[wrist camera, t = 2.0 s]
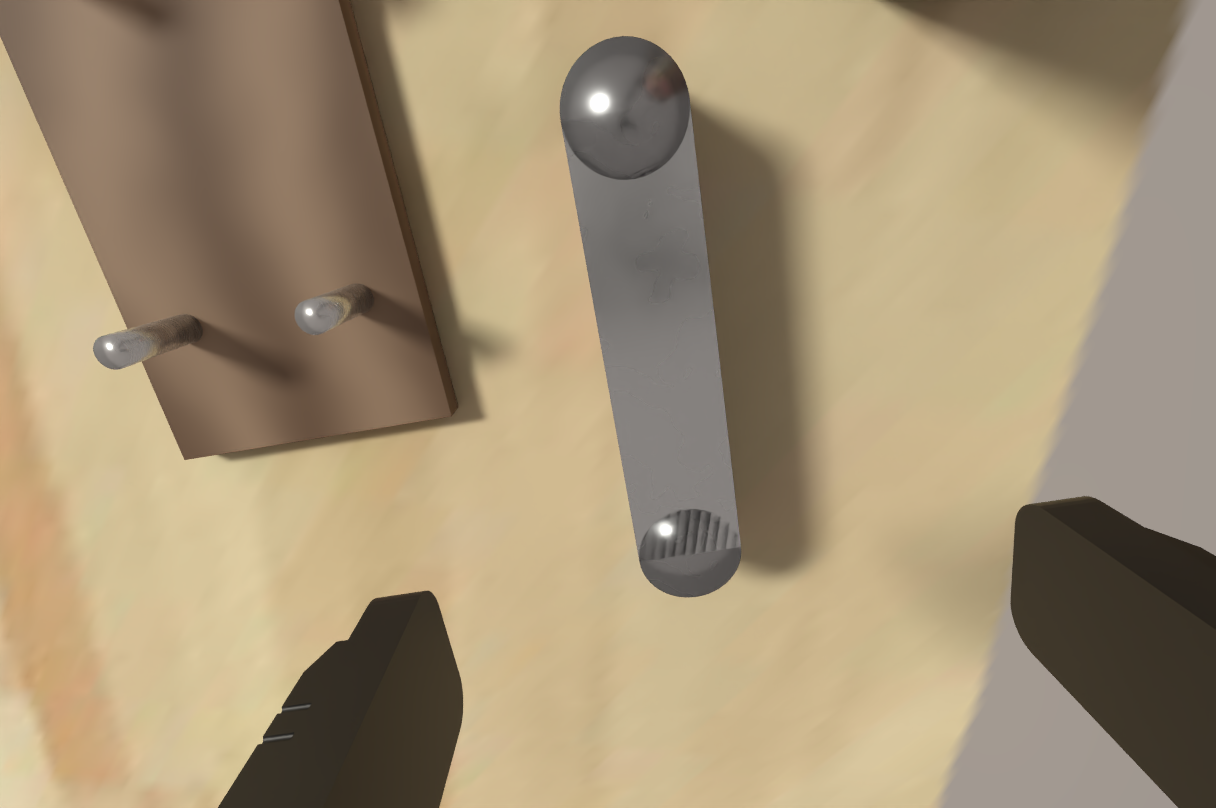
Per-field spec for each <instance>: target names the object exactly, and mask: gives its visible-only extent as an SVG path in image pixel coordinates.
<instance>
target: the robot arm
mask: <svg viewBox="0 0 1216 808" xmlns="http://www.w3.org/2000/svg"><path fill="white" fill-rule="evenodd" d="M1011 610H1012V616H1013V619H1014V623H1015V625H1016V628H1017V630H1018V633H1019V635H1020V636H1021V638H1022V640H1023V642H1024V643H1025V645H1026V646H1027V648H1028V649H1029V650H1030V651H1031V653H1032V654H1033V655H1034V656H1035V657H1036V658H1037V659H1038V660H1039V661H1040V662H1041V663H1042V664H1043V665H1044V666H1045V668H1046V669H1047V670H1048V671H1049V672H1050V673H1051V674H1052V675H1053V676H1054V677H1055V678H1056V679H1057V680H1058V681H1059V682H1060V683H1061V684H1062V685H1063V687H1064V688H1065V689H1066V690H1067V691H1068V692H1069V693H1070V694H1071V695H1072V696H1073V697H1074V698H1075V699H1076V700H1077V701H1078V702H1079V703H1080V704H1081V705H1082V707H1083V708H1084V709H1085V710H1086V711H1087V712H1088V713H1089V714H1090V715H1091V716H1092V717H1093V718H1094V719H1095V720H1096V721H1097V722H1098V723H1099V724H1100V726H1102V728H1103V729H1104V730H1105V731H1106V732H1107V733H1108V734H1109V735H1110V736H1111V737H1112V738H1113V739H1114V740H1115V741H1116V742H1117V743H1118V744H1119V745H1120V747H1121V748H1122V749H1123V750H1124V751H1125V752H1126V753H1127V754H1128V755H1129V756H1130V757H1131V758H1132V759H1133V760H1134V761H1135V762H1136V764H1137V765H1138V766H1139V767H1140V768H1141V769H1142V770H1143V771H1144V772H1145V773H1146V774H1147V775H1148V776H1149V777H1150V778H1151V779H1152V780H1153V781H1154V783H1155V784H1156V785H1157V786H1158V787H1159V788H1160V789H1161V790H1162V791H1163V792H1164V793H1165V794H1166V795H1167V796H1168V797H1169V798H1170V799H1171V800H1172V801H1173V803H1174V804H1175V805H1176V806H1177V807H1178V808H1216V556H1214V555H1213V554H1211V553H1209V552H1207V551H1206V550H1204V549H1202V548H1201V547H1198V546H1195V545H1192V544H1189V543H1187V542H1184V541H1181V540H1178V539H1176V538H1173V537H1170V536H1167V535H1165V534H1162V533H1159V532H1156V531H1153V530H1151V529H1148V528H1144V527H1143V526H1141V525H1139V524H1138V523H1136V522H1134V521H1133V520H1131V519H1129V518H1128V517H1126V516H1124V515H1123V514H1121V513H1120V512H1118V511H1116V510H1115V509H1113V508H1111V507H1110V506H1108V505H1106V504H1105V503H1103V502H1101V501H1100V500H1097V499H1096V498H1092V497H1087V496H1083V497H1076V498H1070V499H1062V500H1056V501H1050V502H1042V503H1035V504H1029V505H1025V506H1023V507H1022V508H1021V509H1020V510H1019V512H1018V513H1017V516H1016V521H1015V534H1014V551H1013V568H1012V586H1011ZM462 715H463V691H462V683H461V678H460V675H459V671H458V668H457V665H456V661H455V658H454V655H453V651H452V648H451V645H450V641H449V638H448V635H447V631H446V628H445V625H444V621H443V618H442V615H441V611H440V608H439V605H438V602H437V600H436V598H435V596H434V595H433V593H432V592H430V591H422V592H415V593H408V594H401V595H394V596H387V597H381V598H375V599H373V600H372V601H371V602H370V604H369V605H368V607H367V608H366V610H365V612H364V613H363V615H362V617H361V619H360V620H359V622H358V624H357V626H356V627H355V629H354V631H353V632H352V634H351V636H350V638H349V639H348V640H345V641H338V642H336V643H335V644H334V645H333V646H331V647H330V648H329V649H328V650H327V651H326V652H325V653H324V654H323V655H322V656H321V657H320V658H319V659H317V660H316V661H315V662H314V663H313V664H312V665H311V666H310V667H309V668H308V669H307V670H306V671H305V672H304V673H303V674H302V676H301V677H300V679H299V680H298V682H297V684H296V685H295V687H294V688H293V690H292V691H291V693H290V695H289V696H288V698H287V699H286V701H285V703H284V704H283V706H282V713H280V714H277V715H276V717H275V718H274V720H273V721H272V723H271V725H270V726H269V728H268V729H267V731H266V733H265V734H264V736H263V743H262V744H259V745H257V747H256V748H255V750H254V751H253V753H252V755H251V756H250V758H249V759H248V761H247V763H246V764H245V766H244V767H243V769H242V770H241V772H240V774H239V775H238V777H237V778H236V780H235V781H234V783H233V785H232V786H231V788H230V789H229V791H228V793H227V794H226V796H225V797H224V799H223V800H222V802H221V804H220V805H219V807H218V808H439V806H440V802H441V799H442V795H443V791H444V787H445V784H446V780H447V776H448V773H449V769H450V765H451V761H452V758H453V754H454V750H455V747H456V743H457V739H458V735H459V732H460V728H461V723H462Z"/></svg>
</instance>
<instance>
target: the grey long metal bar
mask: <svg viewBox="0 0 1216 808" xmlns="http://www.w3.org/2000/svg"><path fill="white" fill-rule="evenodd" d="M560 118H561V125H562V131H563V136H564V142H565V148H566V153H567V159H568V164H569V170H570V176H571V181H572V187H573V192H574V198H575V203H576V209H577V215H578V220H579V226H580V231H581V237H582V243H583V248H584V254H585V259H586V265H587V270H588V276H589V282H590V287H591V293H592V298H593V304H594V310H595V315H596V321H597V326H598V332H599V338H600V343H601V349H602V354H603V360H604V365H605V371H606V377H607V382H608V388H609V393H610V399H611V405H612V410H613V416H614V421H615V427H616V433H617V438H618V444H619V449H620V455H621V460H622V466H623V472H624V477H625V483H626V488H627V494H628V500H629V505H630V511H631V516H632V522H633V527H634V533H635V539H636V544H637V550H638V555H639V561H640V565H641V568H642V571H643V573H644V575H645V576H646V578H647V579H648V580H649V581H650V583H652V584H653V585H654V586H655V587H656V588H658V589H659V590H661V591H663V592H665V593H667V594H670V595H674V596H678V597H697V596H702V595H706V594H709V593H711V592H713V591H715V590H717V589H719V588H720V587H722V586H723V585H724V584H726V583H727V582H728V581H729V580H730V579H731V577H732V576H733V575H734V573H735V571H736V570H737V568H738V565H739V562H740V558H741V543H740V534H739V525H738V517H737V508H736V499H735V491H734V482H733V473H732V464H731V456H730V447H729V438H728V430H727V421H726V412H725V403H724V395H723V386H722V377H721V369H720V360H719V351H718V342H717V334H716V325H715V316H714V308H713V299H712V290H711V281H710V273H709V264H708V255H707V247H706V238H705V229H704V220H703V212H702V203H701V194H700V186H699V177H698V168H697V159H696V151H695V142H694V133H693V125H692V116H691V107H690V98H689V93H688V88H687V85H686V81H685V79H684V77H683V74H682V72H681V70H680V69H679V67H678V65H677V64H676V63H675V61H674V60H673V59H672V58H671V56H670V55H668V54H667V53H666V52H665V51H664V50H663V49H661V48H660V47H659V46H657V45H656V44H654V43H652V42H650V41H647V40H644V39H641V38H637V37H629V36H621V37H614V38H610V39H606V40H604V41H601V42H599V43H597V44H595V45H594V46H592V47H591V48H589V49H588V50H587V51H586V52H584V53H583V54H582V55H581V56H580V57H579V58H578V59H577V61H576V62H575V63H574V65H573V66H572V68H571V69H570V71H569V73H568V75H567V77H566V80H565V82H564V85H563V89H562V93H561V99H560Z"/></svg>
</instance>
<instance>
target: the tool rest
mask: <svg viewBox="0 0 1216 808" xmlns="http://www.w3.org/2000/svg"><path fill="white" fill-rule="evenodd" d="M0 37H1V39H2V41H3V44H4V46H5V48H6V51H7V53H8V55H9V57H10V60H11V62H12V64H13V67H14V69H15V71H16V74H17V76H18V78H19V80H20V83H21V85H22V87H23V90H24V92H25V94H26V97H27V99H28V101H29V103H30V106H31V108H32V110H33V113H34V115H35V117H36V119H37V122H38V124H39V126H40V129H41V131H42V133H43V136H44V138H45V140H46V142H47V145H48V147H49V149H50V152H51V154H52V156H53V159H54V161H55V163H56V165H57V168H58V170H59V172H60V175H61V177H62V179H63V182H64V184H65V186H66V188H67V191H68V193H69V195H70V198H71V200H72V202H73V205H74V207H75V209H76V211H77V214H78V216H79V218H80V221H81V223H82V225H83V228H84V230H85V232H86V234H87V237H88V239H89V241H90V244H91V246H92V248H93V251H94V253H95V255H96V257H97V260H98V262H99V264H100V267H101V269H102V271H103V274H104V276H105V278H106V280H107V283H108V285H109V287H110V290H111V292H112V294H113V296H114V299H115V301H116V303H117V306H118V308H119V310H120V313H121V315H122V317H123V319H124V322H125V324H126V326H127V329H126V330H122V331H119V332H115V333H112V334H108V335H105V336H101V337H99V338H98V339H97V340H96V341H95V343H94V346H93V351H94V354H95V356H96V358H97V360H98V361H99V362H100V363H101V364H102V365H104V366H105V367H107V368H110V369H122V368H124V367H127V366H130V365H133V364H136V363H139V362H141V361H142V363H143V365H144V368H145V370H146V372H147V375H148V377H149V379H150V382H151V384H152V386H153V388H154V391H155V393H156V395H157V398H158V400H159V402H160V405H161V407H162V409H163V411H164V414H165V416H166V418H167V421H168V423H169V425H170V428H171V430H172V432H173V434H174V437H175V439H176V441H177V444H178V446H179V448H180V450H181V453H182V455H183V457H184V460H188V459H194V458H200V457H206V456H212V455H218V454H224V453H230V452H236V451H243V450H249V449H255V448H261V447H267V446H273V445H279V444H285V443H291V442H298V441H304V440H310V439H316V438H322V437H328V436H334V435H340V434H346V433H353V432H359V431H365V430H371V429H377V428H383V427H389V426H395V425H401V424H408V423H414V422H420V421H426V420H432V419H438V418H444V417H450V416H452V415H453V413H454V412H455V411H456V409H457V408H458V405H457V401H456V398H455V394H454V390H453V386H452V382H451V379H450V375H449V371H448V367H447V364H446V360H445V356H444V352H443V349H442V345H441V341H440V337H439V334H438V330H437V326H436V322H435V319H434V315H433V311H432V307H431V304H430V300H429V296H428V292H427V289H426V285H425V281H424V277H423V274H422V270H421V266H420V262H419V259H418V255H417V251H416V247H415V244H414V240H413V236H412V232H411V229H410V225H409V221H408V217H407V214H406V210H405V206H404V202H403V199H402V195H401V191H400V187H399V184H398V180H397V176H396V172H395V169H394V165H393V161H392V157H391V154H390V150H389V146H388V142H387V139H386V135H385V131H384V127H383V124H382V120H381V116H380V112H379V109H378V105H377V101H376V97H375V94H374V90H373V86H372V82H371V79H370V75H369V71H368V67H367V64H366V60H365V56H364V52H363V49H362V45H361V41H360V37H359V34H358V30H357V26H356V22H355V19H354V15H353V11H352V7H351V3H350V0H0Z"/></svg>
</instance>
